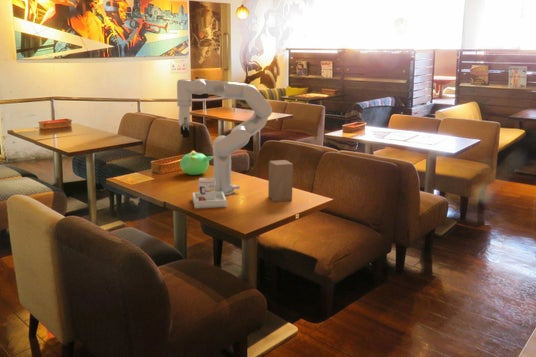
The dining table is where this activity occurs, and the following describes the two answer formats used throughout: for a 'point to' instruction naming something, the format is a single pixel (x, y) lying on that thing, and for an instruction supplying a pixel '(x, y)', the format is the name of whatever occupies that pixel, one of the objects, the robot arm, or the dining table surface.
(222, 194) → the tray
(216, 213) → the dining table surface
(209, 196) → the ink box
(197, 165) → the green teapot
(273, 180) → the wooden block
